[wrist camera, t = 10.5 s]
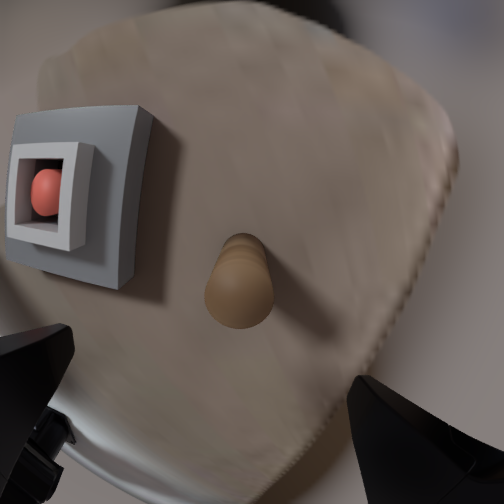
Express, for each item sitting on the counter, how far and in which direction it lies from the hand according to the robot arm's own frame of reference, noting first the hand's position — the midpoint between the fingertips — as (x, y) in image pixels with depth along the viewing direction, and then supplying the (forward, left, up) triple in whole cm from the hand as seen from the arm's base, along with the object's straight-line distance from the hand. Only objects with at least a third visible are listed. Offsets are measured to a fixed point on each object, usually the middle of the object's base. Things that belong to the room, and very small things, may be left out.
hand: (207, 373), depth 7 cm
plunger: (+3, +13, -12) cm, 18 cm away
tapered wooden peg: (+1, -1, -13) cm, 13 cm away
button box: (+3, +13, -13) cm, 19 cm away
